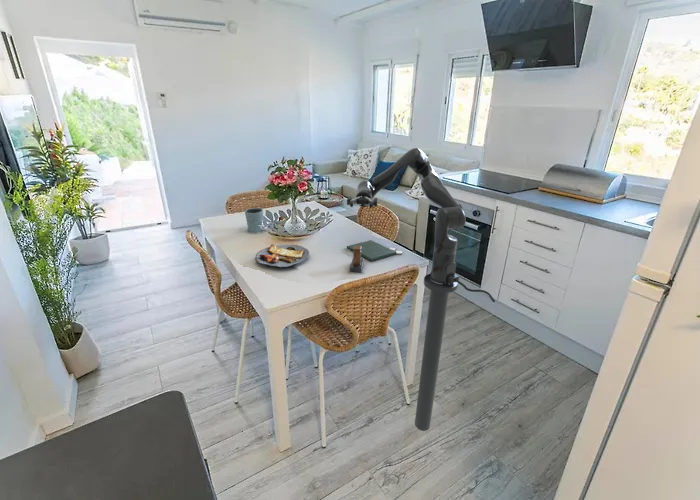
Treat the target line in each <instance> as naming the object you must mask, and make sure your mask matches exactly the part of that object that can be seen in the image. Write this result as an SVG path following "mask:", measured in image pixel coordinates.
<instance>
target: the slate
mask: <svg viewBox="0 0 700 500" xmlns="http://www.w3.org/2000/svg"><path fill="white" fill-rule="evenodd" d="M354 246H361V258H362V257H363V259H366V260H368V261H370V262H374V261H377V260H380V259H385V258H387V257H391V256H395V255H397V254H396V250H395V251H393V250H391V249H389V248H390V247H387V246H384V245H383V244H381V243H378V242H376V241H374V240H371V239H370V240H366V241H361V242H358V243H353V244H349V245H347V246H346V249H347V250H349V251H351V252H353V251H354Z"/></svg>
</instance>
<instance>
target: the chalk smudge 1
mask: <svg viewBox="0 0 700 500" xmlns="http://www.w3.org/2000/svg"><path fill="white" fill-rule="evenodd" d="M395 252H396V254H395V255H402V254H403V251H402V250H395Z"/></svg>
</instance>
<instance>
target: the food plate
mask: <svg viewBox="0 0 700 500" xmlns="http://www.w3.org/2000/svg"><path fill="white" fill-rule="evenodd" d="M310 255H311V252H310V250H309V249H308V248H307V247H304V246H303V245H297V244H288V243H287V244H278V245H275V244H271V245H270V246H268V247H265V248H263V249H261V250H259V251H258V252H257V253H256V254H255V257H254V259H255V260H256V262H258V264H262V265H266V266H269V267H278V268H285V267H286V268H287V267H291V266H293V265H296V264H297V265H298V264H299V263H302V262H303V261H305V260H306V259H307V258H308V257H310Z"/></svg>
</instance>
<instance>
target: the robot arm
mask: <svg viewBox="0 0 700 500" xmlns="http://www.w3.org/2000/svg"><path fill="white" fill-rule="evenodd" d="M405 167H409V169H411V170H412V171H413V172H414V173H415V174H416V175H417V177H418V178H419V179H420V187H421V190H422V192H423V194H424V196H425V197H426V198H427V199H428V200H429V201H430V202H432V203H434V204H435V205H437V206H439V208H438V209H437V211H436V213H435V218H434V219H435V220H434V222H435V223H434V245H433V253H432V260H431V270H430V273H429V274H430V275H431V277H430V280H431V281H432V282H433V283H435V284H438V285H443V286H446V285H449V284H452V283H454V282H457V283H458V285H460V286H461V287H463V288H464V290H466V291H468V292H470V293H471V292H473V293H484V294H486V295H487V296H488V297H489V298H490V301H492V303H496V300H495V298H494V297H493V295H492V294H491V293H490V292H489V291H487V290H484V289H473V288H469V287H467V285H465V284H464V283H463V282H462V281H459V280H460V275H458V274H456V270H457V262H456V254H457V248H458V238H457V237H455V236H454V235H452V234H448V233H449V232H448V231H450V230H459V229H462V228H463V227H465V225H466V221H467V219H466V218H467V217H466V214H465V212H464V210H463V208H462V207H461V205H460V204H459V203H458V202H457V200H456V199H454V197H453V196H452V194H451V193H450V192H449V190H448V189H447V187H446V185H445V184H444V183H443V180H442V179H441V178H440V176H439V175H438V173H436V172H435V170H434V169H433V166H432V165H431V163H430V160H429V157H428V156H427V155H426V154H425V153H424V152H423V151H422V150H421V149H419V147H413V148H411V149H410V150H408V151H407V152H405V153H404V154H403V155H402V156H401V157H400V158H398V159H397V160H396V161H395V162H394V163H393V164H392V165H391V166H389V167H388V168H387V169H386V170H384V171H383V172H381V173H379V174H378V175H376V176H375V177H373V178H372V184H373V186H372V184H371V183H370V181H368V180H365V179H364V180H361V181H360V182H359V183H358V185H357V194H356V195H355V197H354V198H353V197H352V196H348V197H347V199H346V205H347V206H349V207H350V208H354V206H359V207H361V208H366V207H369V209H372V208H374V207H378V198H377V197H376V195H377V194H378V193H379V192H380V191H381V190H382V189H384V188H385V187H387V186H389V185H391V184H392V183H393V182H394V181H395V179H396V177H397V176H398V174H399V172H400V171H401V170H402V169H404V168H405ZM374 197H375V198H374Z"/></svg>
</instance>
